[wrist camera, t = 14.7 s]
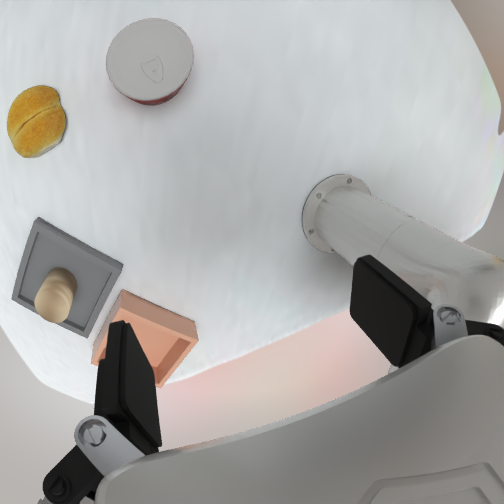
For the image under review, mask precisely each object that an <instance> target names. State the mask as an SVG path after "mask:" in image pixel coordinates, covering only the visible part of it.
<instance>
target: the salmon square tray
mask: <svg viewBox="0 0 504 504" xmlns="http://www.w3.org/2000/svg"><path fill="white" fill-rule="evenodd" d="M121 320H124V321H125V323H130V324H131V326H132V328H133V330H134V332H135V334H136V337H137V339H138V341H139V343H140V345H141V347H142V349H143V351H144V353H145V355H146V357H147V359H148V361H149V362H150V364H151V366H152V368H153V371H154V375H155V385H156V387H159V388H161V387H162V386H163V385H164V383H165V382H166V381H167V380H168V378H169V377H170V376H171V375H172V373H173V372H174V371H175V370H176V368H177V367H178V366H179V365H180V363H181V362H182V361H183V360H184V358H185V357H186V356H187V354H188V353H189V352H190V351H191V349H192V348H193V347H194V346H195V344H196V343H197V342H198V341H199V340H198V335H197V331H196V326H195V322H194V321H192V320H190V319H187V318H185V317H183V316H180V315H178V314H176V313H173V312H171V311H169V310H167V309H164V308H162V307H160V306H158V305H155V304H153V303H151V302H149V301H147V300H145V299H142V298H140V297H138V296H136V295H134V294H132V293H130V292H128V291H126V290H124V289H122V291H121V293H120V294H119V296H118V298H117V300H116V302H115V304H114V306H113V307H112V309H111V311H110V313H109V315H108V317H107V319H106V321H105V323H104V325H103V327H102V329H101V331H100V333H99V335H98V337H97V339H96V341H95V343H94V347H93V353H92V359H91V364H94V365H96V366H98V364H99V361H100V359H105V353H106V344H107V337H108V329H109V324H110V323H112V322H116V321H121Z"/></svg>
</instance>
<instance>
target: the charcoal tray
mask: <svg viewBox="0 0 504 504" xmlns="http://www.w3.org/2000/svg"><path fill="white" fill-rule="evenodd" d="M57 267H61V268H65V269H67V270H69V271H70V272H71V273H72V274H73V275H74V277H75V278H76V281H77V290H76V293H75V296H74V299H73V302H72V305H71V308H70V311H69V314H68V316H67V318H66V319H65V320H64V321H63V322H60V323H56V324H58V325H60V326H62V327H64V328H66V329H68V330H70V331H72V332H74V333H77V334H79V335H81V336H83V337H85V338H88V336H89V334H90V332H91V330H92V328H93V326H94V324H95V321H96V319H97V317H98V315H99V313H100V311H101V309H102V307H103V305H104V303H105V301H106V299H107V297H108V295H109V293H110V292H111V290H112V288H113V286H114V284H115V282H116V280H117V278H118V276H119V275H120V273H121V271H122V267H123V264H122V263H120V262H118V261H116V260H114V259H112V258H110V257H109V256H107V255H105V254H103V253H101V252H99V251H97V250H96V249H94V248H92V247H90V246H88V245H86V244H85V243H83V242H81V241H79V240H77V239H76V238H74V237H72V236H70V235H69V234H67V233H65V232H63V231H62V230H60V229H58V228H56V227H55V226H53V225H51V224H50V223H48V222H46V221H45V220H43V219H41V218H40V217H38V218H37V219H36V220H35V221H34V223H33V226H32V229H31V231H30V234H29V237H28V240H27V243H26V246H25V250H24V253H23V256H22V260H21V263H20V267H19V270H18V274H17V278H16V282H15V286H14V290H13V294H12V300H14V301H15V302H17V303H19V304H20V305H22V306H24V307H26V308H28V309H29V310H31V311H33V312H35V313H37V314H38V312H37V310H36V308H35V303H34V302H35V297H36V295H37V293H38V291H39V289H40V288H41V286H42V284H43V282H44V280H45V278H46V276H47V274H48V273H49V271H50V270H52V269H53V268H57Z"/></svg>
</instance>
